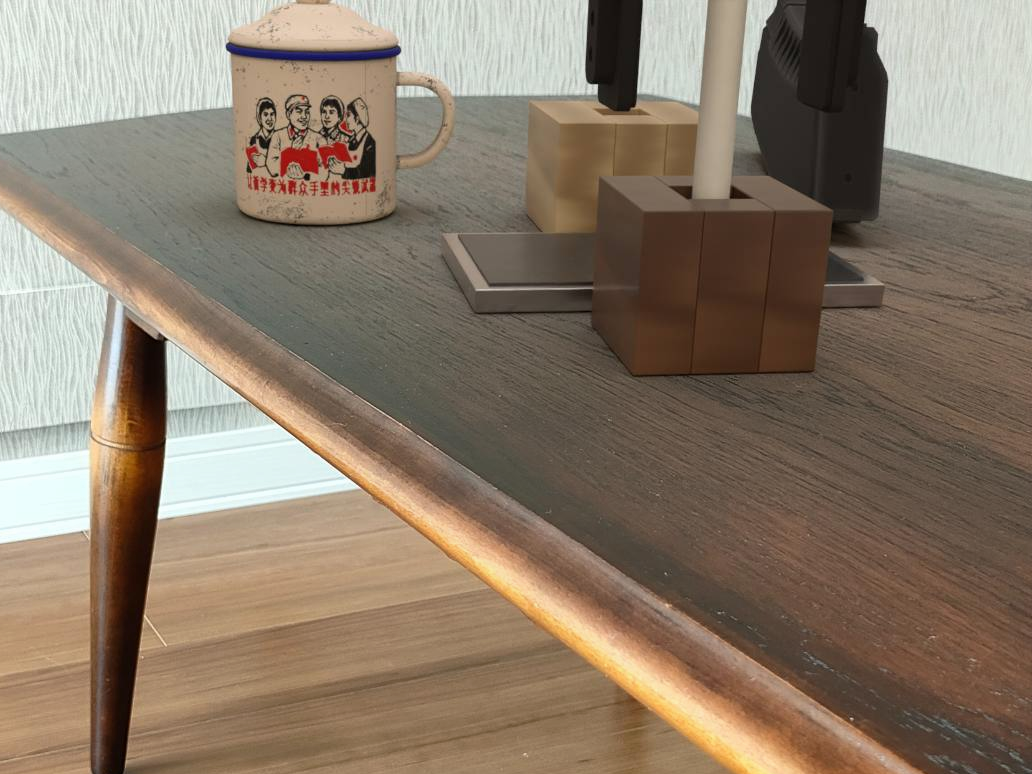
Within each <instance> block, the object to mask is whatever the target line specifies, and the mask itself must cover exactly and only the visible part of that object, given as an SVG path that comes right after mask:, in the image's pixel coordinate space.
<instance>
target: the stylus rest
mask: <svg viewBox="0 0 1032 774" xmlns="http://www.w3.org/2000/svg"><path fill="white" fill-rule="evenodd" d="M692 188H693V176H600V177H599V189H598V207H597V225H596V242H595V260H594V278H593V296H592V311H591V317H590V318H591V319H590V325H591V326H592V327H593V328H594V329H595V331H596V332H597V334H599V336H600V337H601V338H602V340H604V342H605V343H606V344H607V345H608V347H609V348H610V349H611V351H613V353H614V354H615V356H616V357H617V358H618V359H619V360H620V361H621V363H622V364H623V365H624V366H625V367H626V369H627V370H628V371H629V373H631V375H632V376H671V375H672V376H673V375H690V374H691V375H707V374H709V375H710V374H711V375H712V374H716V375H717V374H753V373H754V374H755V373H791V372H792V373H793V372H794V373H795V372H797V373H798V372H814V371H815V367H816V366H815V365H816V359H817V358H816V357H817V350H818V343H819V342H818V341H819V333H820V325H821V316H822V310H823V307H822V301H823V293H824V285H825V277H826V269H827V260H828V252H829V251H830V242H831V236H832V235H831V234H832V228H833V222H832V219H833V210H831V209H829V208H828V207H826V206H824V205H822V204H820V203H818V202H816V201H814V200H813V199H811V198H809V197H807V196H805V195H803V194H801V193H800V192H798V191H796V190H794V189H792V188H790V187H788V186H787V185H785V184H783V183H781V182H779V181H777V180H775V179H773V178H772V177H770V176H769V175H731V186H730V197H729V199H692Z"/></svg>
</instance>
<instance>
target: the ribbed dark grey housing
mask: <svg viewBox="0 0 1032 774" xmlns="http://www.w3.org/2000/svg"><path fill="white" fill-rule="evenodd" d="M805 8H806V0H776V5H775V7H774V8H773V12H772V13H771V14H770V15H769V16H768V18H767V19H766V20H765V26H764V27H763V28H762V31H761V38H760V43H759V47H758V51H757V57H756V62H755V63H756V65H755V71H754V79H753V86H752V95H751V101H750V117H751V122H752V127H753V131H754V136H755V137H756V141H757V144H758V148H759V151H760V154H761V158H762V161H763V163H764V166H765V170H766V172H767V174H768V176H770V177H772V178H773V179H775V180H777V181H779V182H781V183H783V184H785V185H787V186H788V187H790V188H792V189H794V190H796V191H798V192H800V193H801V194H803V195H805V196H807V197H809V198H811V199H813V200H814V201H816V202H818V203H820V204H822V205H824V206H826V207H828V208H829V209H831V210H833V219H832V224H834V223H835V224H836V223H838V224H860V223H862V221H864V222H865V221H867V222H873V221H876V219H877V218H878V217H879V215H880V203H881V202H880V200H881V189H882V175H883V160H884V146H885V135H886V132H885V131H886V121H887V120H886V119H887V108H888V96H889V95H888V93H889V77H888V72H887V70H886V69H887V68H886V67H885V65H884V63H883V60H882V59H881V57H880V53H879V52H878V43H879V33H878V31H877V30H876V28H875V27H874V26H868V23H867V22H864V29H863V37H862V45H861V53H860V61H859V69H858V75H857V79H856V82H855V84H854V85H853V86H852V87H847V89H846V97H845V104H844V108H843V111H842V112H841V113H825V112H823V111H820V110H817V109H815V108H812V107H809V106H807V105H804V104H802V103H801V101H798V100H797V97H796V91H797V82H798V72H799V63H800V54H801V45H802V35H803V26H804V17H805Z"/></svg>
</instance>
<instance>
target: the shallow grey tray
mask: <svg viewBox="0 0 1032 774" xmlns="http://www.w3.org/2000/svg"><path fill="white" fill-rule="evenodd" d="M440 241H441V242H440V243H441V244H440V245H441V246H440V247H441V249H440V251H441V252H440V253H441V255H442V257H443V259H444V261H445V262H446V264H447V265H448V267H449V269H450V271H451V273H452V275H453V277H454V278H455V280H456V282H457V284H458V286H459V287H460V289H461V291H462V293H463V294H464V296H465V297H466V300H467V301H468V303H469V305H470V306H471V308H472V310H473V312H474V314H489V313H490V314H491V313H493V314H494V313H548V312H549V313H551V312H553V313H554V312H555V313H557V312H558V313H559V312H561V313H562V312H592V296H593V278H594V260H595V242H596V232H546V233H543V232H451V233H450V232H443V233H441V240H440ZM885 286H886V284H885V283H883V282H882V281H880V280H879V279H877V278H875V277H873V276H872V275H871V274H869V273H867V272H865V271H864V270H862V269H861V268H859V267H858V266H856V265H854V264H852V263H851V262H849V261H847V260H846V259H844V258H842V257H841V256H839V255H837V254H836V253H834V252H832V251H831V250H829V252H828V260H827V269H826V277H825V285H824V293H823V301H822V308H862V307H863V308H864V307H866V308H868V307H871V308H872V307H882V306H883V301H884V300H883V299H884V292H885Z"/></svg>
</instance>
